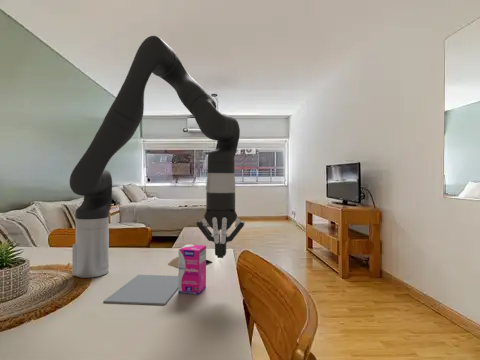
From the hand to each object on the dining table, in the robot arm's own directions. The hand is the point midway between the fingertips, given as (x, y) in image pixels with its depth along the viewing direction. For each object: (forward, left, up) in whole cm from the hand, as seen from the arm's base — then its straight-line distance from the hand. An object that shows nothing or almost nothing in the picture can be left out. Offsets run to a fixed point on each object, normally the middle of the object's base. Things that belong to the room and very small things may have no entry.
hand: (220, 257), depth 81 cm
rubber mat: (-19, 0, -9) cm, 21 cm away
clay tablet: (-14, +25, -10) cm, 30 cm away
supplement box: (-7, 0, -9) cm, 12 cm away
